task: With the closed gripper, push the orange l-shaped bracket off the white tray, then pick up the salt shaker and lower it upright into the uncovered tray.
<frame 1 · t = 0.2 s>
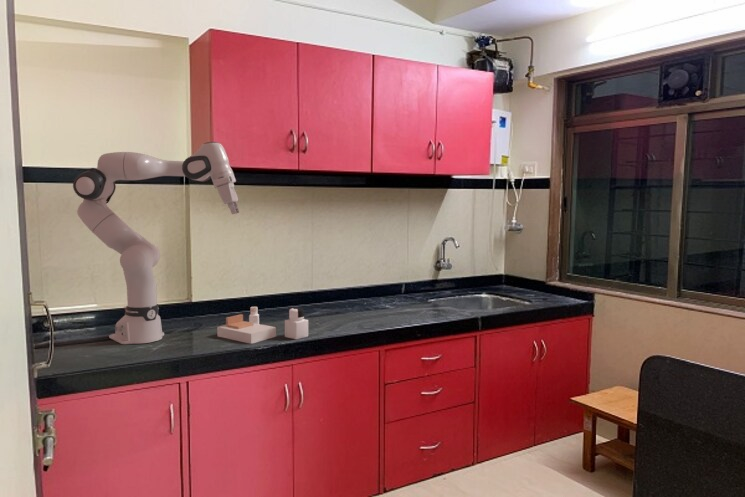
hand: (235, 213, 225), 51 cm above the worktop, tool tilted 20°, fingers open, 8 cm apart
salt shaker: (254, 328, 246), on the worktop
orange l-shaped bracket: (239, 321, 234), point 6 cm above the worktop, slide at 0.0 cm
white tray: (246, 336, 232), on the worktop
white stepped block: (296, 337, 232), on the worktop
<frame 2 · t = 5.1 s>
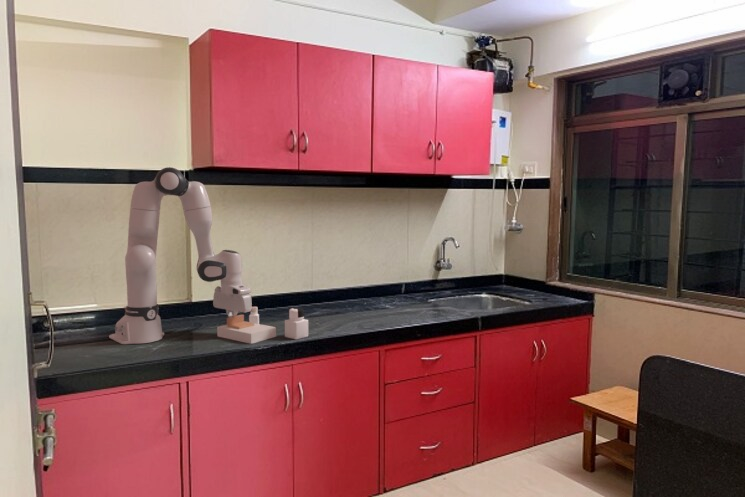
hand: (232, 320, 237), 6 cm above the worktop, tool pointing down, fingers closed
orange l-shaped bracket: (240, 321, 233), point 6 cm above the worktop, slide at 0.5 cm, touching gripper
everything else where it was.
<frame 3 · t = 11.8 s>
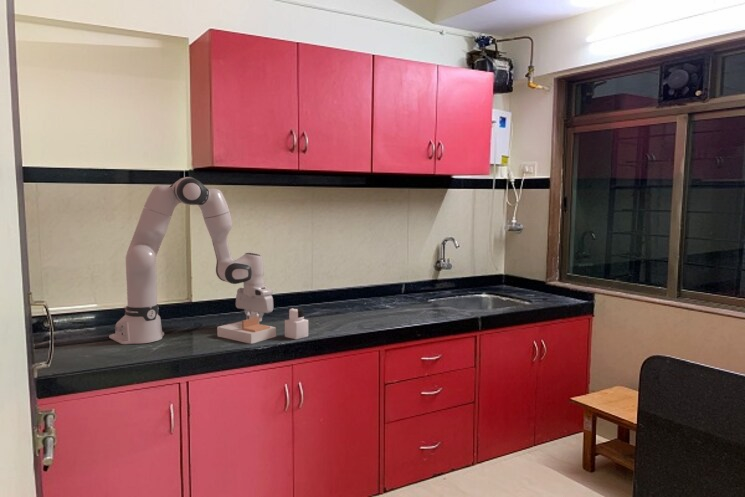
hand: (254, 320, 246), 4 cm above the worktop, tool pointing down, fingers closed on salt shaker, 5 cm apart
salt shaker: (254, 328, 246), on the worktop, touching gripper
orange l-shaped bracket: (255, 324, 228), point 6 cm above the worktop, slide at 9.5 cm
everything else where it was.
when the fingers open (5 cm above the worktop, at t = 16.7 s): salt shaker stays where it is, resting in white tray.
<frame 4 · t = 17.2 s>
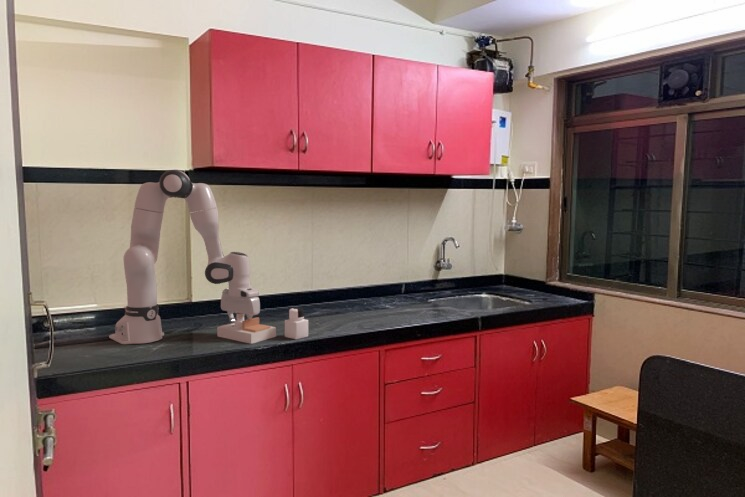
hand: (240, 323, 234), 5 cm above the worktop, tool pointing down, fingers open, 8 cm apart
salt shaker: (240, 335, 234), resting in white tray
orange l-shaped bracket: (256, 324, 228), point 6 cm above the worktop, slide at 9.8 cm, touching gripper
everything else where it was.
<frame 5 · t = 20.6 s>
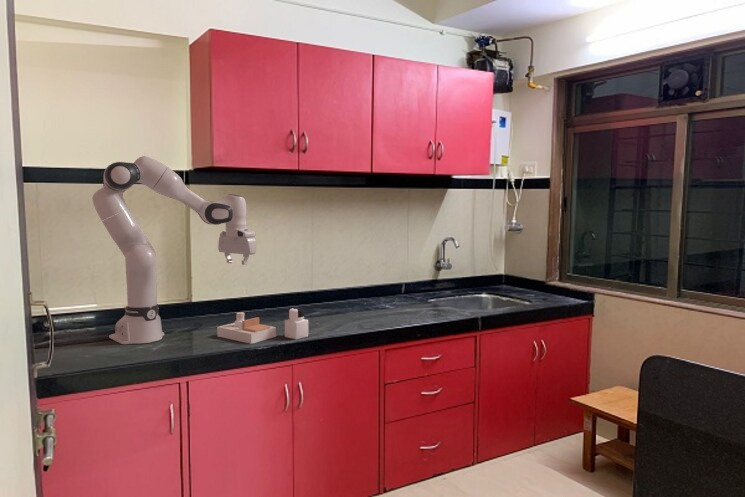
hand: (236, 263, 241), 29 cm above the worktop, tool pointing down, fingers open, 8 cm apart
orange l-shaped bracket: (256, 324, 228), point 6 cm above the worktop, slide at 9.8 cm
everything else where it was.
at the end: salt shaker 0.2 cm from the target spot on the white tray, point 0.0 cm above the white tray's base; orange l-shaped bracket slide at 9.8 cm; salt shaker tilted 0° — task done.
